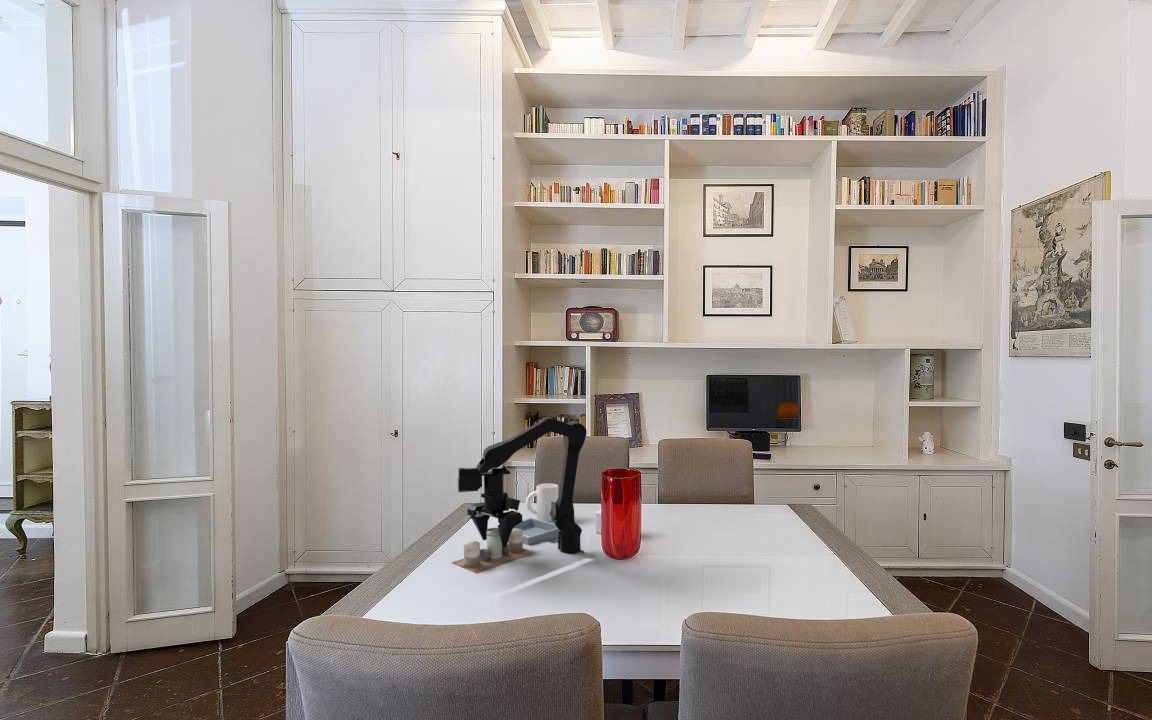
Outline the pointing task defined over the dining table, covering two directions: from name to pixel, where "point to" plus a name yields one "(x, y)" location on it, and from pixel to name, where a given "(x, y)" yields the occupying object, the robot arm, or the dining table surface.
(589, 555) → the dining table surface
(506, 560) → the fuse rack
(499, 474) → the robot arm
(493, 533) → the cylinder
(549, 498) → the mug
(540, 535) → the tray
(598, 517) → the medicine bottle
